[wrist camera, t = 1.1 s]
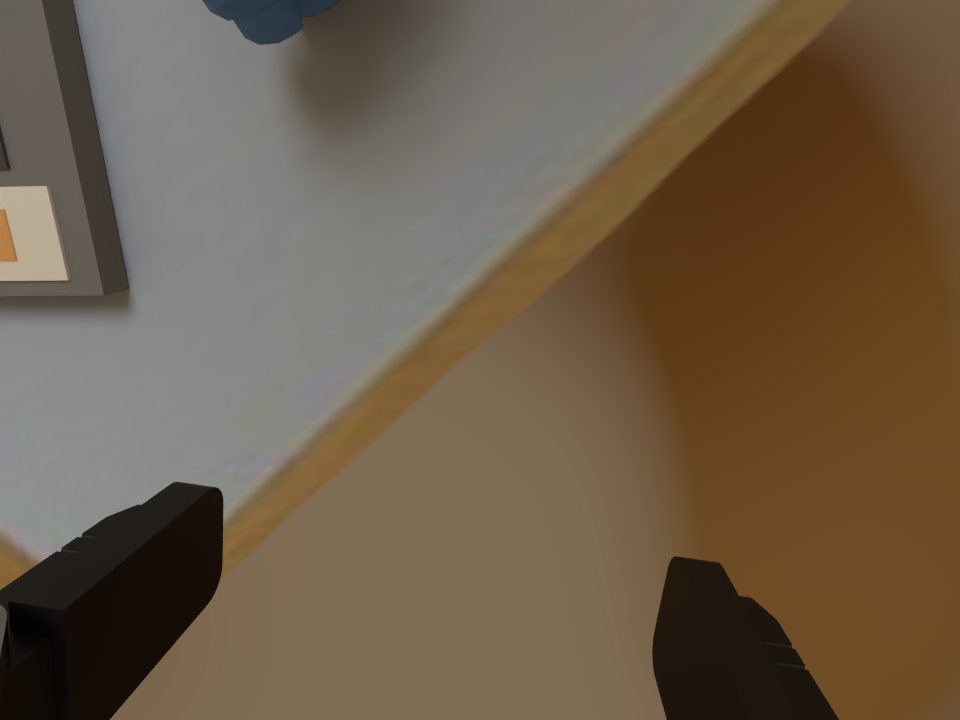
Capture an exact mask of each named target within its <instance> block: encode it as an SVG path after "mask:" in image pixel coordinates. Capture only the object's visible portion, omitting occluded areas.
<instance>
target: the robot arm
mask: <svg viewBox="0 0 960 720" xmlns="http://www.w3.org/2000/svg"><path fill="white" fill-rule="evenodd" d="M222 556H223V495H222V492H221V491H220V489H219V488H216V487H209V486H202V485H195V484H189V483H182V482H174V483H172V484H170V485H169V486H167V487H166V488H165V489H163V490H162V491H160V492H159V493H158V494H156V495H155V496H153V497H152V498H151V499H149V500H148V501H147V502H145V503H144V504H142V505H136V506H133V507H131V508H128V509H126V510H123V511H121V512H118V513H116V514H113V515H110V516H108V517H106V518H104V519H103V520H101V521H100V522H99V523H97V524H96V525H94V526H93V527H91V528H90V529H88V530H87V531H85V532H84V533H83V534H82V537H81V538H80V537H77V538H75V539H74V540H72V541H71V542H70V543H68V544H67V545H65V546H64V547H62V550H61V552H57V551H56V552H55V553H54V554H52V555H51V556H49V557H48V558H46V559H45V560H43V561H42V562H40V563H39V564H38V565H36V566H35V567H33V568H32V569H30V570H29V571H27V572H26V573H25V574H23V575H22V576H20V577H19V578H17V579H16V580H14V581H13V582H11V583H10V584H9V585H7V586H6V587H4V588H3V589H1V590H0V720H110V719H111V717H112V716H113V715H114V714H115V713H116V712H117V710H118V709H119V708H120V707H121V706H122V704H123V703H124V702H125V701H126V700H127V699H128V697H129V696H130V695H131V694H132V693H133V692H134V690H135V689H136V688H137V687H138V686H139V685H140V683H141V682H142V681H143V680H144V679H145V677H146V676H147V675H148V674H149V673H150V671H151V670H152V669H153V668H154V667H155V666H156V665H157V663H158V662H159V661H160V660H161V659H162V657H163V656H164V655H165V654H166V653H167V652H168V650H169V649H170V648H171V647H172V646H173V645H174V643H175V642H176V641H177V640H178V638H180V636H181V635H182V634H183V633H184V632H185V630H186V629H187V628H188V627H189V626H190V625H191V623H192V622H193V621H194V620H195V619H196V617H197V616H198V615H199V614H200V613H201V612H202V610H203V609H204V608H205V607H206V606H207V605H208V603H209V602H210V601H211V599H212V597H213V595H214V594H215V591H216V589H217V587H218V584H219V581H220V577H221V572H222ZM652 652H653V669H654V674H655V678H656V682H657V686H658V689H659V693H660V697H661V700H662V704H663V707H664V711H665V715H666V718H667V720H839V719H838V717H837V716H836V714H835V713H834V711H833V709H832V708H831V706H830V705H829V703H828V701H827V700H826V698H825V697H824V695H823V693H822V692H821V690H820V689H819V687H818V686H817V684H816V682H815V680H814V679H813V677H812V676H811V674H810V672H809V671H808V670H805V664H804V663H803V661H802V660H801V658H800V657H799V655H798V654H797V652H796V650H795V649H792V643H791V642H790V640H789V639H788V637H787V635H786V634H785V632H784V631H783V629H782V627H781V626H780V624H779V623H778V621H777V620H776V619H775V618H774V617H773V616H772V615H771V614H769V613H768V612H767V611H766V610H765V609H764V608H763V607H761V606H760V605H759V604H758V603H757V602H756V601H754V600H753V599H752V598H749V597H742V596H739V595H738V594H737V592H736V590H735V588H734V586H733V584H732V583H731V581H730V579H729V577H728V576H727V574H726V572H725V570H724V568H723V567H722V565H721V564H720V563H718V562H710V561H704V560H697V559H690V558H684V557H676V556H675V557H673V558H672V559H671V561H670V563H669V566H668V571H667V575H666V580H665V584H664V589H663V594H662V599H661V603H660V608H659V613H658V618H657V622H656V627H655V632H654V638H653V651H652Z"/></svg>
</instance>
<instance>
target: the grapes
mask: <svg viewBox="0 0 960 720" xmlns="http://www.w3.org/2000/svg"><path fill="white" fill-rule="evenodd" d="M203 2H204V3H205V5H206V6H207V8H208V9H209V10H210V12H212V13H214V14H216V15H218V16H220V17H222V18H224V19H226V20H234V22H235V23H236V25H237V26H238V28H239V29H240V31H241V32H242V34H243V35H244V37H245V38H247V39H249V40H251V41H253V42H255V43H257V44H259V45H263V44H272V43H280V42H281V41H283V40H285V39H287V38H289V37H291V36H293V35H294V34H296V33H297V32H298V31H300V30H301V29H303V26H302V17H309V16H315V15H317V14H319V13H321V12H323V11H325V10H327V9H329V8H330V7H332V6H333V5H334V4H336V3H337V2H339V0H203Z"/></svg>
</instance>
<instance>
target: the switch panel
mask: <svg viewBox="0 0 960 720" xmlns="http://www.w3.org/2000/svg"><path fill="white" fill-rule="evenodd" d="M128 288H129V286H128V281H127V276H126V270H125V265H124V260H123V255H122V250H121V245H120V240H119V235H118V230H117V225H116V220H115V215H114V210H113V204H112V199H111V194H110V189H109V184H108V179H107V174H106V169H105V164H104V159H103V154H102V149H101V144H100V138H99V133H98V128H97V123H96V118H95V113H94V108H93V103H92V98H91V93H90V88H89V83H88V78H87V72H86V67H85V62H84V57H83V52H82V47H81V42H80V37H79V32H78V27H77V22H76V17H75V12H74V6H73V1H72V0H0V296H104V295H108V294H111V293H114V292H118V291H121V290H124V289H128Z"/></svg>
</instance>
